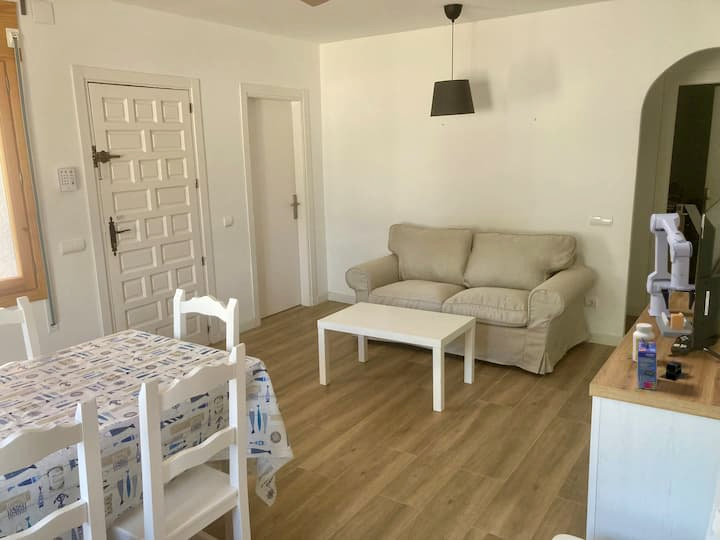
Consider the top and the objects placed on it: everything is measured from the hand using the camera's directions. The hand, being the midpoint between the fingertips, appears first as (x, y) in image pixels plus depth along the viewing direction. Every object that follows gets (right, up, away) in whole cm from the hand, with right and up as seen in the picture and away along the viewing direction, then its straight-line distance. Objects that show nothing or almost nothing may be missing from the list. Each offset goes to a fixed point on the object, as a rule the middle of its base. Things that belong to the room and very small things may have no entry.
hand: (678, 308), depth 218 cm
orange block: (+1, -8, +3) cm, 8 cm away
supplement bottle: (-25, -17, -23) cm, 38 cm away
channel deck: (+3, -9, +8) cm, 12 cm away
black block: (-22, -19, -36) cm, 46 cm away
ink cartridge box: (-33, -21, -41) cm, 56 cm away
